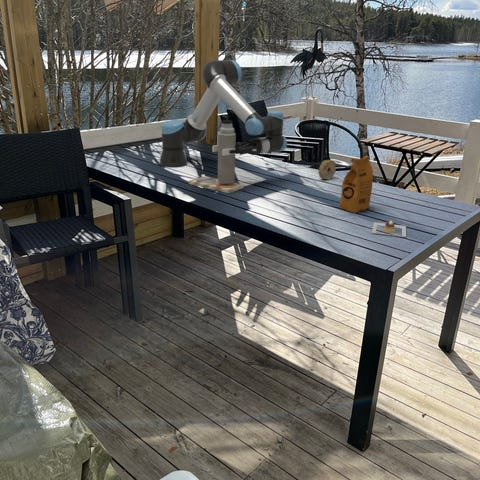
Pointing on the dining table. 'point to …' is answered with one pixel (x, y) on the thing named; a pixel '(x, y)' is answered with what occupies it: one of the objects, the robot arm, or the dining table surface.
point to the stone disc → (327, 169)
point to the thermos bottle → (226, 161)
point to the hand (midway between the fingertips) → (217, 150)
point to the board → (215, 184)
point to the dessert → (389, 228)
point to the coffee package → (357, 186)
